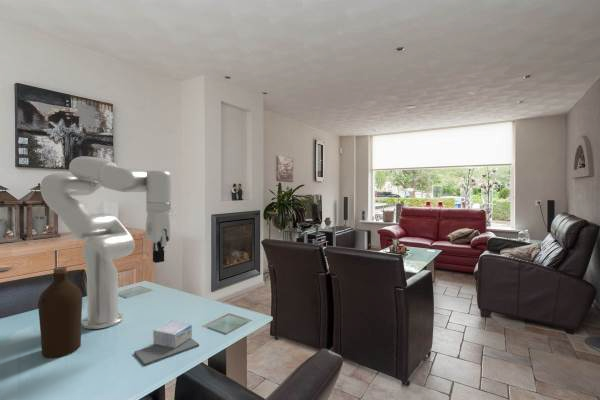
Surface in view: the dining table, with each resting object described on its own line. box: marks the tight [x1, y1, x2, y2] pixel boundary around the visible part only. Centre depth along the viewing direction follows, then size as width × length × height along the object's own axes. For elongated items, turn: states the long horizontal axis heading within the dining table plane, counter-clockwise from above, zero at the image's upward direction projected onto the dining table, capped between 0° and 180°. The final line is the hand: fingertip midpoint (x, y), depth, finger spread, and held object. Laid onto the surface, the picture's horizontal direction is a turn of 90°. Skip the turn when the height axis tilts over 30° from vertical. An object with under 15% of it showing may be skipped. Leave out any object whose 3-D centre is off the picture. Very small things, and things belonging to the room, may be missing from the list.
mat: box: [133, 337, 200, 366], centre depth 97 cm, size 9×16×1 cm, turn 134°
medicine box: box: [152, 320, 193, 348], centre depth 101 cm, size 8×4×9 cm
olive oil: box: [37, 266, 83, 359], centre depth 96 cm, size 11×11×25 cm
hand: (158, 261), depth 108 cm, fingers closed
